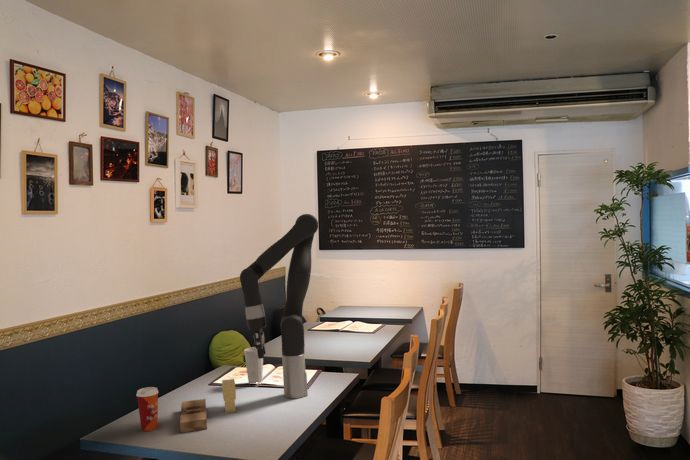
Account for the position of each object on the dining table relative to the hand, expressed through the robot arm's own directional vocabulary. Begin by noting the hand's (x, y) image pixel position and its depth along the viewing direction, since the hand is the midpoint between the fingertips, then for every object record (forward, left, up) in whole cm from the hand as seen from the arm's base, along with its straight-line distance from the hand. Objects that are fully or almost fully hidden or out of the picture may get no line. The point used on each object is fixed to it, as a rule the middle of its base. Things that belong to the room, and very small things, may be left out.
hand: (262, 356), depth 229 cm
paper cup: (+43, +15, -18) cm, 49 cm away
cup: (+1, -25, -18) cm, 31 cm away
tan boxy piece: (+14, +7, -18) cm, 24 cm away
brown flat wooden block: (+28, +12, -18) cm, 35 cm away
